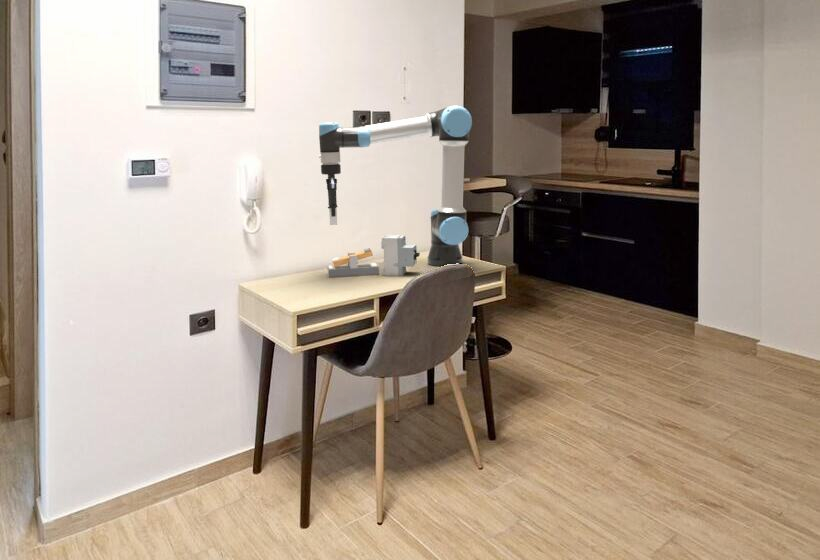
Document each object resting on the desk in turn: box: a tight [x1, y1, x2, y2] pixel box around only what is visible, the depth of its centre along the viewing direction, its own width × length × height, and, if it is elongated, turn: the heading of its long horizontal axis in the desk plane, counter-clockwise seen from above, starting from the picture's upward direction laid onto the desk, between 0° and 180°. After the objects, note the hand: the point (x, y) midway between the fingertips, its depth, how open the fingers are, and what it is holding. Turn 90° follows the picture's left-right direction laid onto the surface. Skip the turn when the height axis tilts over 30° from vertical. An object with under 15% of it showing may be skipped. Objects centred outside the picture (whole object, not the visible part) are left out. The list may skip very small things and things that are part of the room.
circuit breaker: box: [380, 234, 421, 277], centre depth 257 cm, size 8×14×15 cm, turn 78°
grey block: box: [326, 252, 380, 278], centre depth 259 cm, size 20×7×8 cm, turn 101°
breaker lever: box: [331, 248, 374, 267], centre depth 259 cm, size 16×5×3 cm, turn 99°
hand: (333, 224), depth 254 cm, fingers closed
